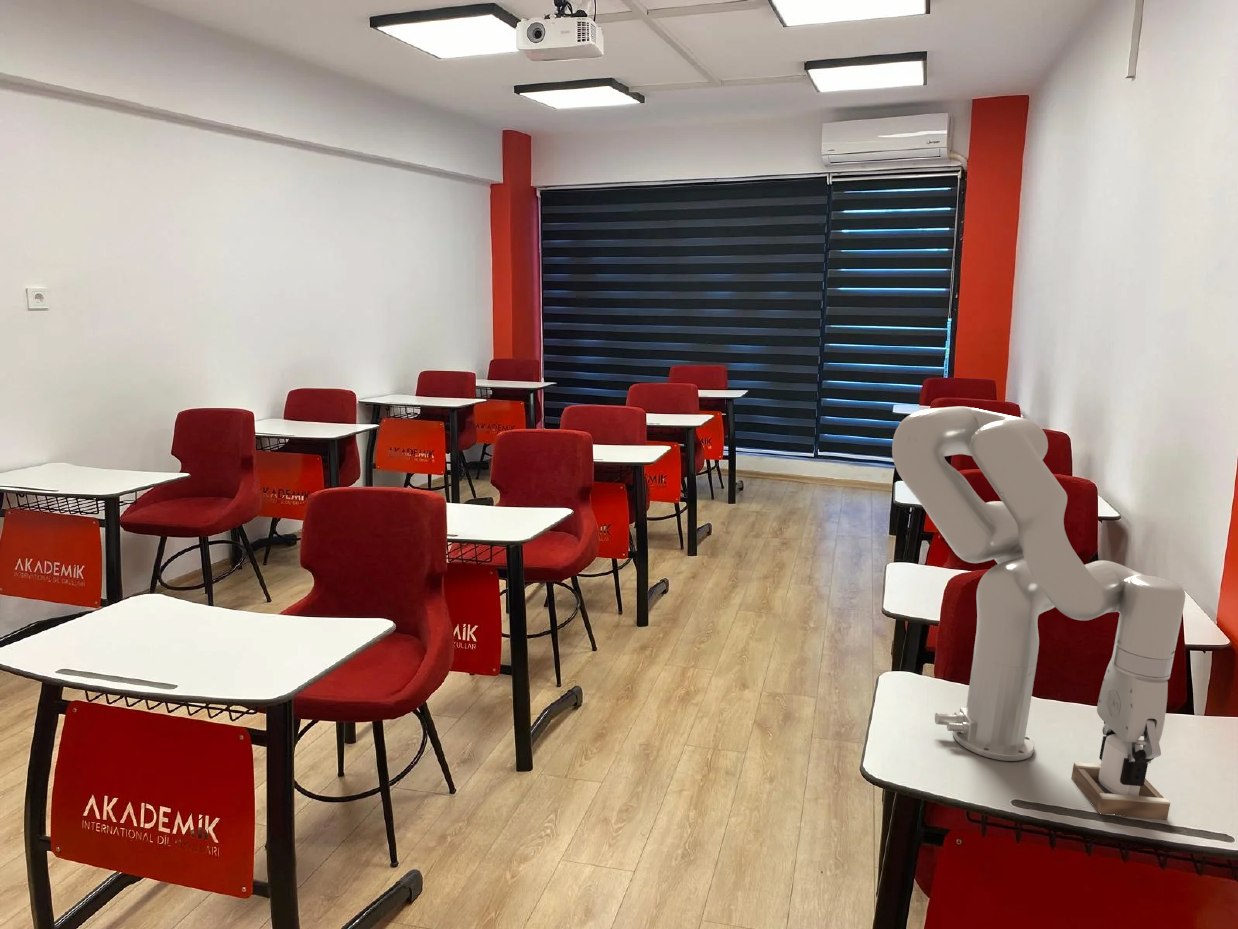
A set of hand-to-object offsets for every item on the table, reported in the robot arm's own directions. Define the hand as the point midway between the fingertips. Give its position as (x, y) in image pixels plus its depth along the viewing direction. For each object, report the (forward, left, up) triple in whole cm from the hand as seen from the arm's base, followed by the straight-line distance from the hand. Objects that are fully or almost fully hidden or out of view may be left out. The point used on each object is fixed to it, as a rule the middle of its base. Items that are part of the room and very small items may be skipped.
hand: (1120, 771), depth 131 cm
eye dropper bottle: (0, 0, -3) cm, 3 cm away
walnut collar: (0, 0, -4) cm, 4 cm away
